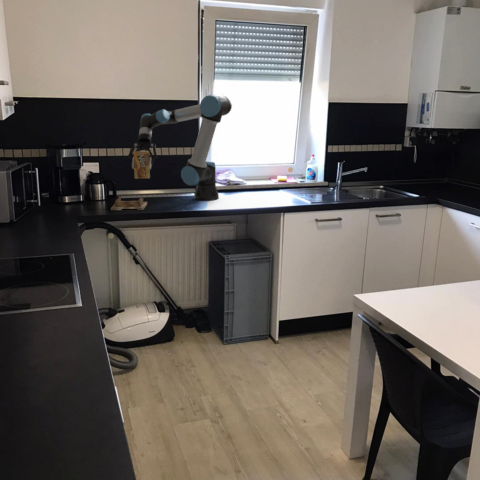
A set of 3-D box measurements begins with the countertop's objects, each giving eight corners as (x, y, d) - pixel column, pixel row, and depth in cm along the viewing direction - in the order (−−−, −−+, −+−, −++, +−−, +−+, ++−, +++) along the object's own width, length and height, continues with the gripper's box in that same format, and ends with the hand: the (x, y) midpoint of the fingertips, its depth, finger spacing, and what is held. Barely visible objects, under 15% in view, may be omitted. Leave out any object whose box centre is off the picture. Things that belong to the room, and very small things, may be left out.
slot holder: (147, 203, 316) (146, 196, 315) (143, 209, 298) (142, 202, 297) (116, 204, 315) (116, 197, 314) (110, 210, 297) (110, 202, 296)
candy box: (149, 177, 314) (149, 151, 310) (150, 178, 310) (149, 152, 306) (134, 177, 313) (133, 151, 308) (134, 178, 309) (133, 152, 304)
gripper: (164, 140, 322) (161, 171, 312) (127, 140, 322) (123, 171, 312) (162, 133, 315) (159, 164, 305) (125, 132, 315) (121, 163, 305)
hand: (141, 167), depth 308 cm, fingers closed on candy box, 9 cm apart
